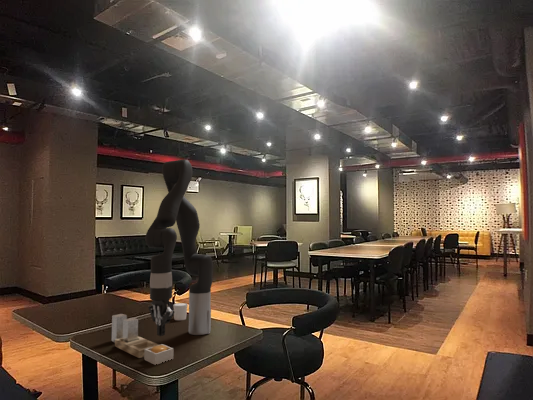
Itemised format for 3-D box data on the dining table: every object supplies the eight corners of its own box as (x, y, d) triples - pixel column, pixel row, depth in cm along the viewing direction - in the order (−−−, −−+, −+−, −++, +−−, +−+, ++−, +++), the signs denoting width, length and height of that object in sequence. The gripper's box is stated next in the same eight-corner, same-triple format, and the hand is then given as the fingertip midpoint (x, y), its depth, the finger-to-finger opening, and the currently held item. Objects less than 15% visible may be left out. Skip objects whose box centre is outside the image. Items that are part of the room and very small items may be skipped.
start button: (148, 355, 121) (148, 348, 122) (161, 351, 125) (161, 344, 125) (156, 358, 118) (156, 351, 118) (169, 354, 122) (169, 347, 122)
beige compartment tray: (114, 346, 134) (115, 339, 134) (134, 341, 140) (134, 334, 140) (139, 358, 123) (139, 350, 123) (159, 351, 129) (159, 344, 129)
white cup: (188, 316, 176) (188, 302, 177) (185, 320, 170) (186, 305, 170) (174, 317, 176) (175, 302, 177) (171, 320, 169) (171, 306, 170)
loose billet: (111, 341, 140) (112, 315, 141) (121, 338, 143) (121, 313, 144) (116, 343, 138) (117, 317, 138) (126, 340, 141) (126, 315, 141)
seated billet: (122, 346, 134) (123, 319, 135) (132, 343, 138) (132, 317, 138) (127, 348, 132) (128, 321, 133) (137, 345, 135) (138, 319, 136)
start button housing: (144, 359, 121) (144, 349, 121) (162, 353, 127) (162, 344, 127) (155, 365, 117) (155, 354, 117) (173, 358, 122) (173, 348, 122)
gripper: (141, 284, 125) (141, 334, 124) (162, 289, 116) (162, 342, 115) (159, 281, 130) (159, 328, 129) (181, 285, 122) (181, 336, 121)
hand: (161, 335), depth 122 cm, fingers closed
